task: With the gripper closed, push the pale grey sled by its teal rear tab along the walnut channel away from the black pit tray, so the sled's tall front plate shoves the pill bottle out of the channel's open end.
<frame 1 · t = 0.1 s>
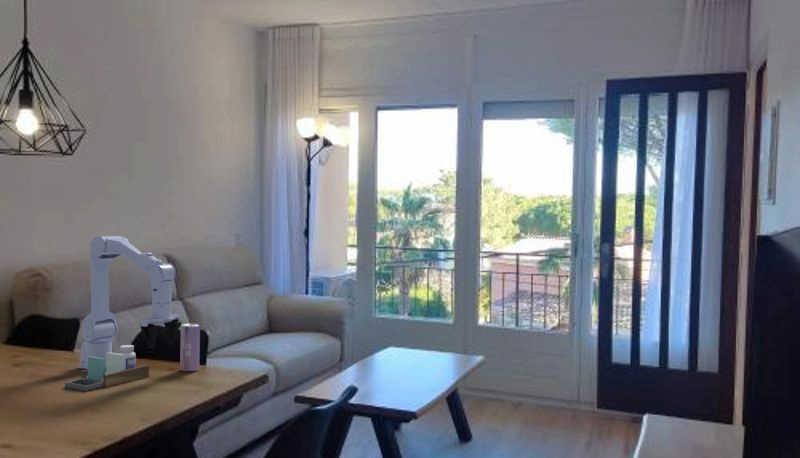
hand: (160, 346, 205), 10 cm above the table, fingers open, 7 cm apart
pit: (84, 387, 194), on the table
channel: (115, 379, 203), on the table
pill bottle: (126, 377, 207), on the table
sled: (106, 368, 200), point 4 cm above the table, slide at 0.0 cm
beverage can: (189, 370, 218), on the table
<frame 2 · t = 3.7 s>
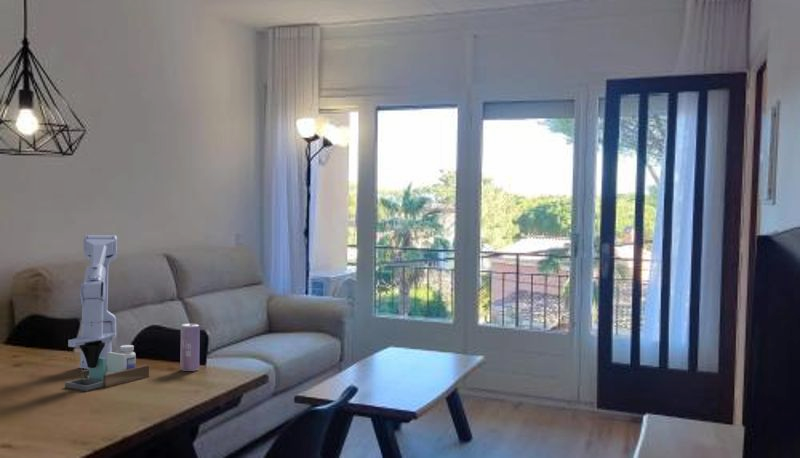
hand: (91, 367, 196), 5 cm above the table, fingers closed
sled: (107, 367, 201), point 4 cm above the table, slide at 0.4 cm, touching gripper
everything else where it was.
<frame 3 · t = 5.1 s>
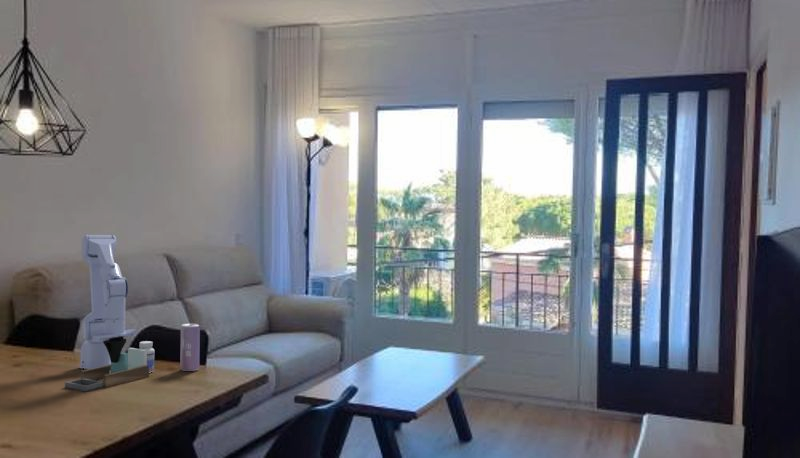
hand: (114, 362, 203), 5 cm above the table, fingers closed
pill bottle: (145, 372, 214), on the table, touching sled
sled: (128, 363, 208), point 4 cm above the table, slide at 8.2 cm, touching gripper, pill bottle
everything else where it was.
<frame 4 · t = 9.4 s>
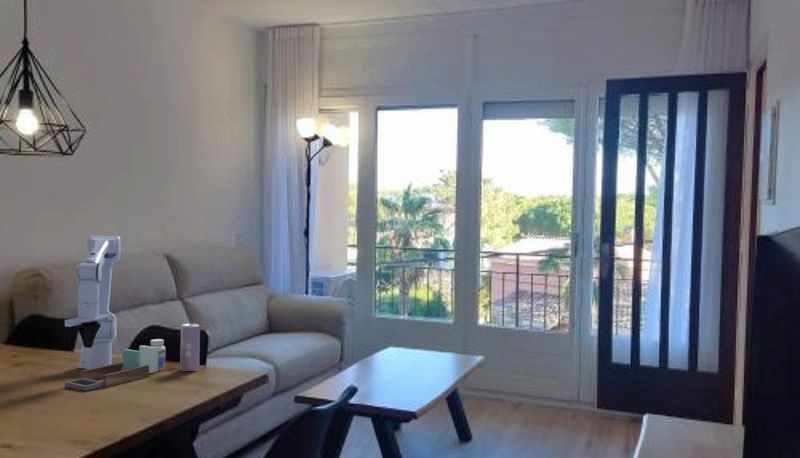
hand: (88, 347, 200), 10 cm above the table, fingers closed
pill bottle: (156, 370, 218), on the table
sled: (140, 360, 212), point 4 cm above the table, slide at 12.9 cm
everything else where it was.
at the end: pill bottle inside the target area (0.9 cm from its centre), on the table; pill bottle tilted 0°; sled slide at 12.9 cm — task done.
